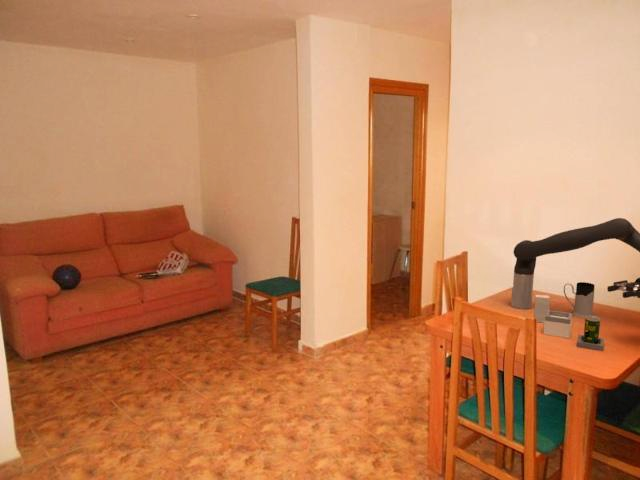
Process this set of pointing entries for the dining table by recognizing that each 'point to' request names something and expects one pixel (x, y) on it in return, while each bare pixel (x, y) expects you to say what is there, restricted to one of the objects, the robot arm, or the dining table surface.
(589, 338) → the beer can
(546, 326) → the riser
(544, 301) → the skincare box
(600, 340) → the table dock
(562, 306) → the dining table surface
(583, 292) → the grey container
